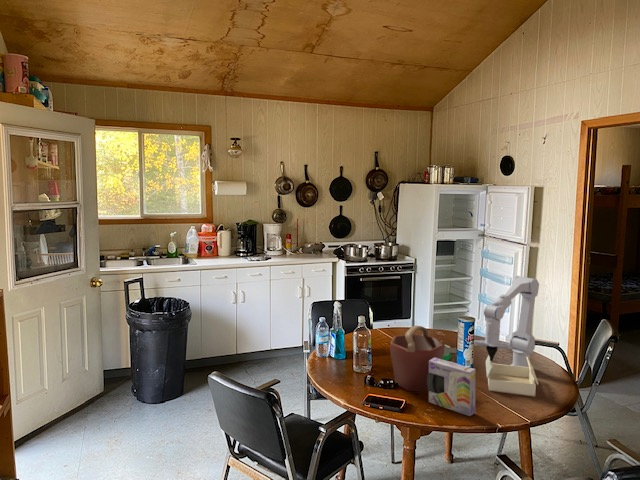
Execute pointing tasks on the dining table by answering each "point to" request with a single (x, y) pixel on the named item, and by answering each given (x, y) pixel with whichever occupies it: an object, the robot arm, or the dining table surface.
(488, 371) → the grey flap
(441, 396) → the cake pan box
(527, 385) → the carton
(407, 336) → the bucket
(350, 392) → the dining table surface
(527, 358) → the cream flap
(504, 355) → the dining table surface
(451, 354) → the food container
